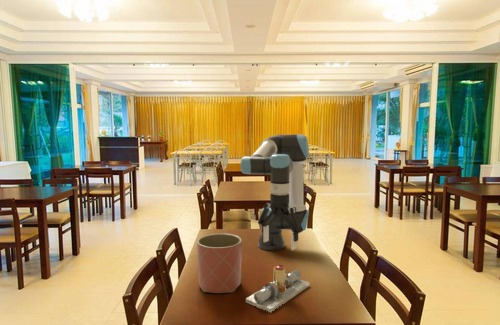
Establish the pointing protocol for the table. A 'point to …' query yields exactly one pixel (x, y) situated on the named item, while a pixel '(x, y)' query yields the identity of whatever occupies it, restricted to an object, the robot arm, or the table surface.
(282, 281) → the brass cylinder
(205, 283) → the planter
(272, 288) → the pipeline
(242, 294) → the table surface
